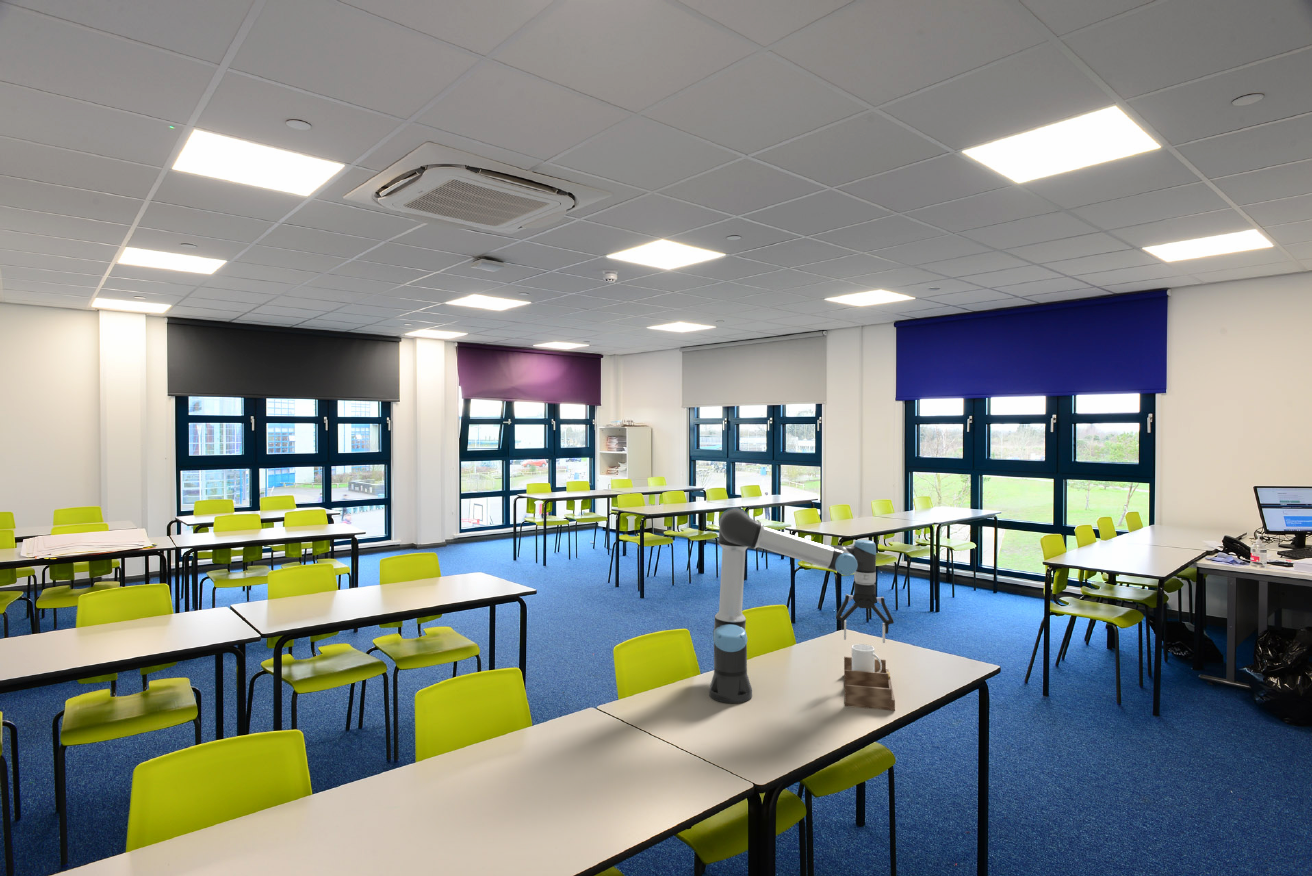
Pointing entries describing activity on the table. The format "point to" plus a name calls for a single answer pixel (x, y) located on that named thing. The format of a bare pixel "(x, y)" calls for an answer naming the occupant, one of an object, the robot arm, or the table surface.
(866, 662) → the mug
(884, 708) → the rack
